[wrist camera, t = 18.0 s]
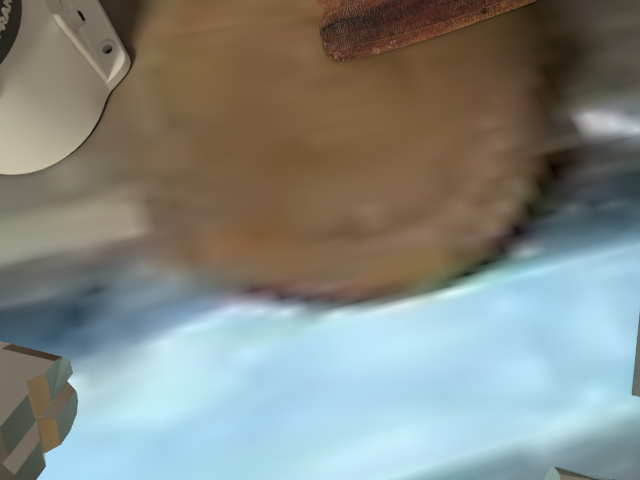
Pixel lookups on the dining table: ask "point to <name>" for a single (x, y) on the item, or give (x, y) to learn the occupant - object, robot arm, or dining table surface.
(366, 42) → the wooden tablet
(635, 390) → the stand
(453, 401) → the dining table surface
